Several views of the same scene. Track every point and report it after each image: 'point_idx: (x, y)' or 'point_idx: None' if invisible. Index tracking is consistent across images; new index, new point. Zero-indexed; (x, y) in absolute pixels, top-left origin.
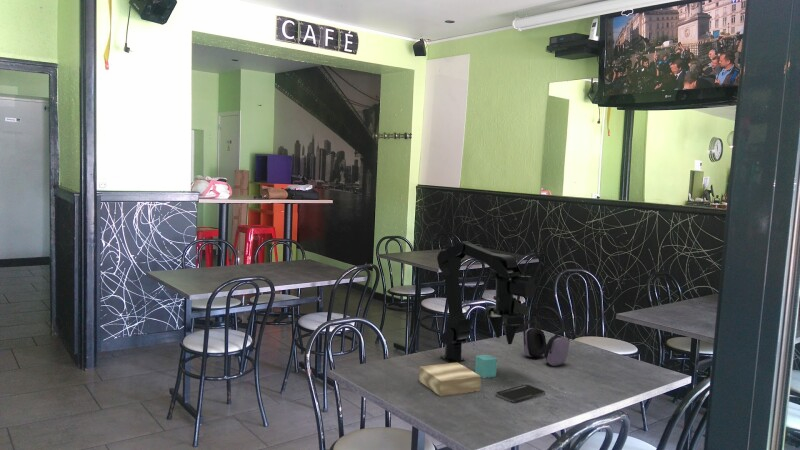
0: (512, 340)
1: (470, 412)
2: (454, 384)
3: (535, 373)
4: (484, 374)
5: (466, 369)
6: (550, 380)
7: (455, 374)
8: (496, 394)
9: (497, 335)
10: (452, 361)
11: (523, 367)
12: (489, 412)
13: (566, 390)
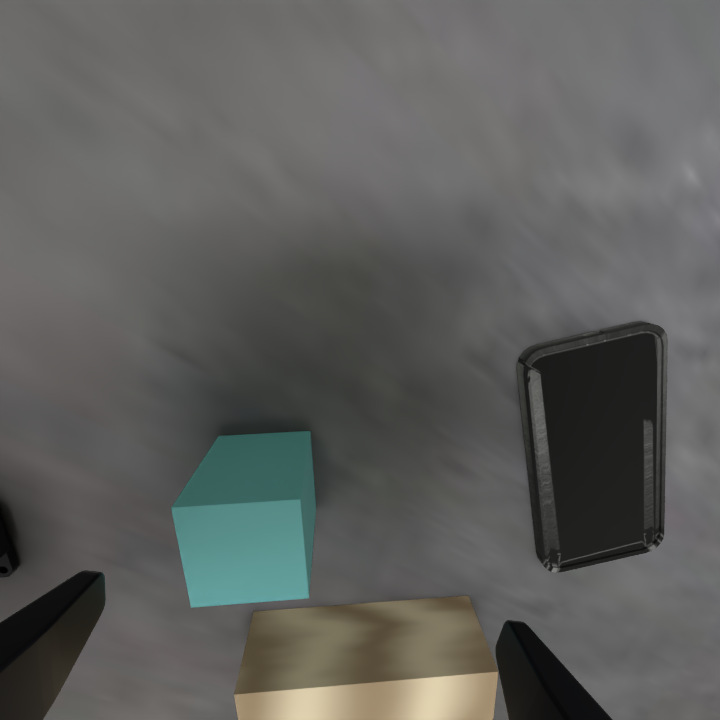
0: (574, 683)
1: (629, 704)
2: None
3: (330, 123)
4: (314, 515)
5: (370, 695)
6: (492, 114)
7: None
8: (558, 570)
9: (78, 634)
10: (11, 554)
11: (178, 124)
12: (665, 653)
13: (677, 143)
